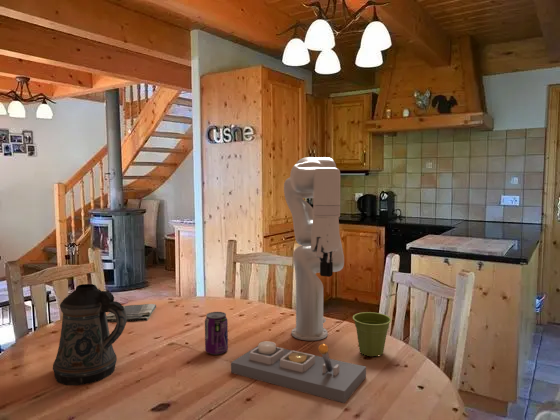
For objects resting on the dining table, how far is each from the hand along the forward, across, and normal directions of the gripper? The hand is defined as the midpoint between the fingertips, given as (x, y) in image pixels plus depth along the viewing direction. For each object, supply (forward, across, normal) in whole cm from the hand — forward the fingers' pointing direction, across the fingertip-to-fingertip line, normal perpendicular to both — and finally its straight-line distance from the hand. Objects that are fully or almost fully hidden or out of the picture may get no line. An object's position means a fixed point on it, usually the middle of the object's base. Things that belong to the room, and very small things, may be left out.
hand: (326, 275), depth 124 cm
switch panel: (+27, +8, -5) cm, 29 cm away
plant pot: (+27, -17, +8) cm, 33 cm away
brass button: (+24, +8, -5) cm, 25 cm away
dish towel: (+28, -7, -89) cm, 94 cm away
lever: (+24, +8, +5) cm, 26 cm away
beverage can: (+27, +6, -35) cm, 45 cm away
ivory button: (+22, +8, -15) cm, 28 cm away
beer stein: (+27, +35, -57) cm, 72 cm away
